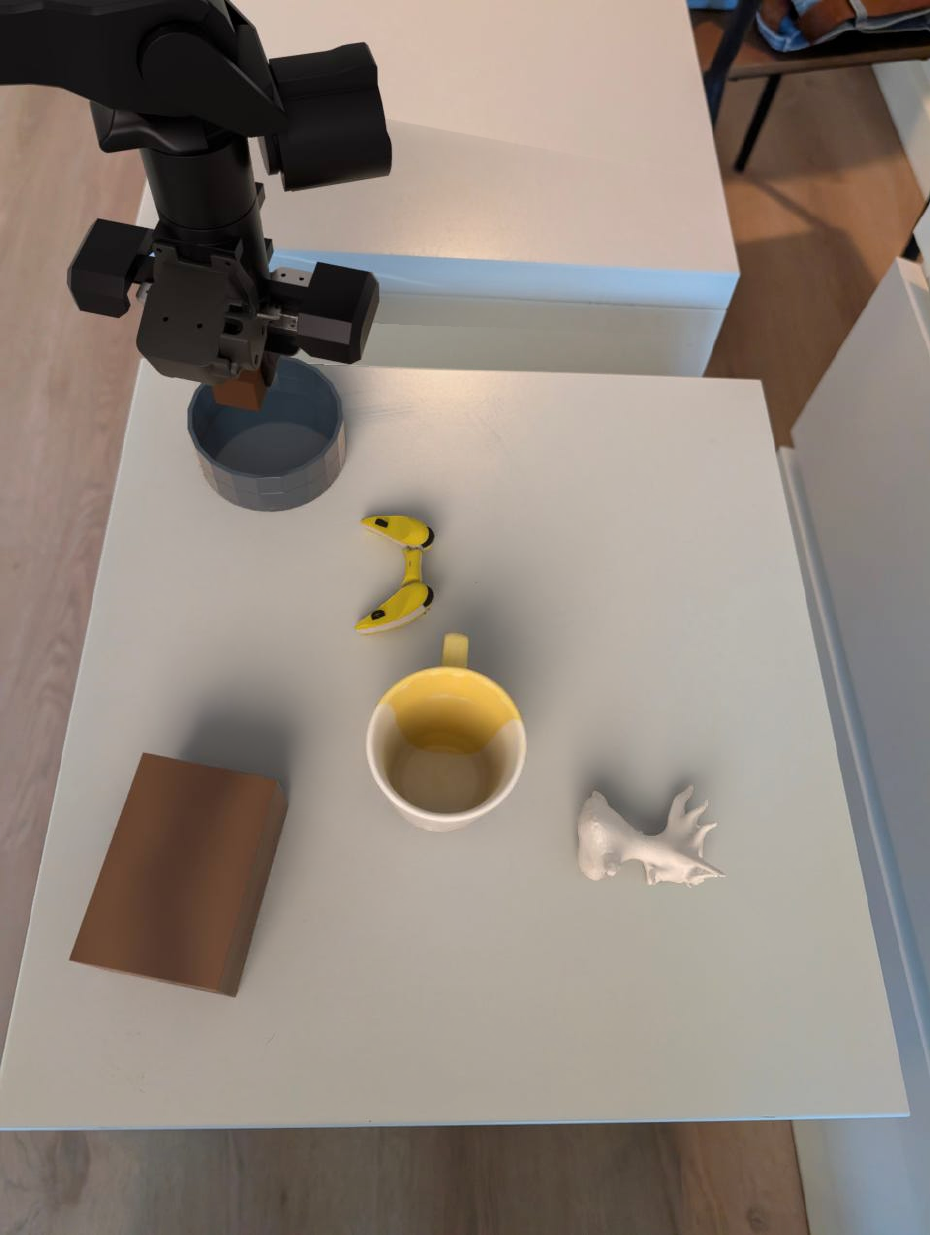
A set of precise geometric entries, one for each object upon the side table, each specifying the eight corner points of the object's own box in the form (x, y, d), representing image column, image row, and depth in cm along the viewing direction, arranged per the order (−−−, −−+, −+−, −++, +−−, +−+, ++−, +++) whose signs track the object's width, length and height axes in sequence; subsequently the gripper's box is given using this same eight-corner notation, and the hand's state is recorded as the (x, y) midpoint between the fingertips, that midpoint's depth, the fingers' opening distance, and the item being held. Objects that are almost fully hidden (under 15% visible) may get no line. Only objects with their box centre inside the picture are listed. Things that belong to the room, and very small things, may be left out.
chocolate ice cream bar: (215, 403, 65) (207, 375, 62) (251, 313, 69) (245, 283, 66) (259, 412, 65) (253, 384, 62) (292, 321, 69) (288, 291, 66)
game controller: (442, 632, 71) (427, 613, 68) (367, 642, 73) (349, 625, 70) (443, 522, 76) (428, 500, 73) (372, 535, 77) (355, 514, 74)
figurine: (560, 771, 67) (692, 746, 66) (579, 851, 70) (705, 829, 69) (573, 860, 58) (727, 833, 57) (594, 948, 61) (740, 924, 60)
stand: (102, 969, 60) (68, 960, 54) (166, 780, 66) (142, 752, 60) (235, 997, 60) (216, 991, 54) (288, 805, 66) (277, 779, 59)
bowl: (179, 495, 76) (166, 460, 72) (224, 381, 81) (214, 341, 77) (325, 524, 76) (320, 491, 71) (360, 408, 81) (358, 370, 77)
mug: (487, 872, 65) (503, 842, 55) (350, 829, 65) (343, 792, 56) (535, 699, 71) (557, 644, 61) (409, 661, 71) (411, 601, 62)
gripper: (-14, 264, 48) (78, 441, 62) (330, 332, 48) (345, 495, 62) (65, 127, 53) (135, 320, 67) (379, 188, 53) (382, 370, 67)
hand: (246, 377), depth 66 cm, fingers closed on chocolate ice cream bar, 3 cm apart
